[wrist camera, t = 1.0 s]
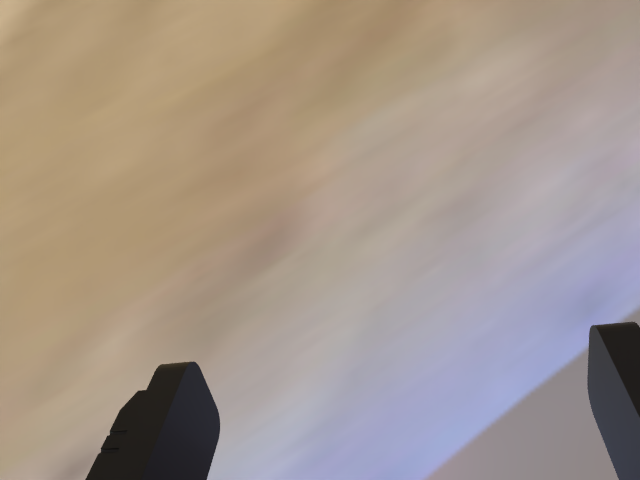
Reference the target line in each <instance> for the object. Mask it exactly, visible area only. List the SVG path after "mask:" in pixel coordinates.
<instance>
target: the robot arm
mask: <svg viewBox="0 0 640 480" xmlns="http://www.w3.org/2000/svg"><path fill="white" fill-rule="evenodd" d="M588 394H589V400H590V404H591V408H592V412H593V415H594V417H595V420H596V423H597V425H598V428H599V430H600V433H601V435H602V437H603V440H604V443H605V445H606V448H607V450H608V453H609V455H610V458H611V461H612V463H613V466H614V468H615V471H616V473H617V476H618V478H619V480H640V327H639V326H638V325H637V323H635V322H625V323H614V324H604V325H593V326H591V328H590V333H589V357H588ZM219 434H220V418H219V412H218V409H217V407H216V404H215V402H214V400H213V397H212V395H211V393H210V390H209V388H208V386H207V383H206V381H205V379H204V376H203V374H202V372H201V369H200V367H199V366H198V364H197V363H196V362H184V363H173V364H162V365H160V366H159V367H158V368H157V369H156V371H155V373H154V375H153V377H152V379H151V381H150V383H149V386H148V388H147V390H142V391H138V392H137V393H136V394H135V395H134V396H133V397H132V398H131V399H130V400H129V401H128V402H127V403H126V404H125V406H124V407H123V408H122V409H121V410H120V412H119V414H118V416H117V418H116V420H115V422H114V424H113V426H112V428H111V430H110V435H109V436H107V438H106V440H105V442H104V444H103V446H102V448H101V453H100V454H98V456H97V458H96V460H95V462H94V464H93V466H92V468H91V470H90V472H89V474H88V476H87V478H86V480H207V476H208V473H209V470H210V466H211V463H212V459H213V456H214V453H215V449H216V446H217V443H218V439H219Z"/></svg>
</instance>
